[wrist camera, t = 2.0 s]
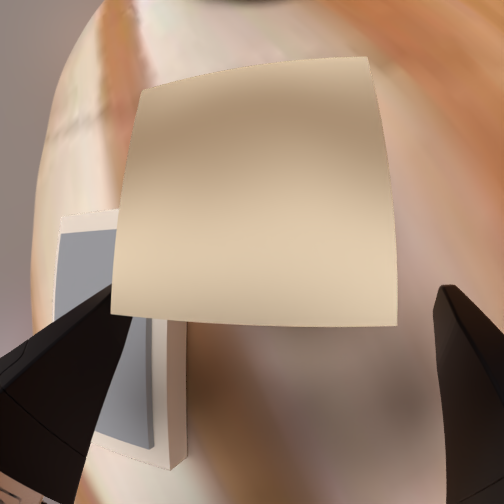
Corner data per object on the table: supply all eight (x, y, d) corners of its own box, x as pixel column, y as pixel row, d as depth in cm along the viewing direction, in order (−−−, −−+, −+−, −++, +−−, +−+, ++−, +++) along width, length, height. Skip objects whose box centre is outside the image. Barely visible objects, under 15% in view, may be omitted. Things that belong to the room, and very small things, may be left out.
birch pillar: (357, 313, 17) (397, 325, 5) (250, 312, 18) (110, 314, 7) (355, 206, 18) (367, 56, 6) (253, 210, 19) (142, 90, 8)
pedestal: (187, 456, 17) (165, 474, 15) (78, 421, 20) (52, 429, 17) (192, 213, 20) (169, 199, 17) (82, 223, 23) (55, 214, 20)
